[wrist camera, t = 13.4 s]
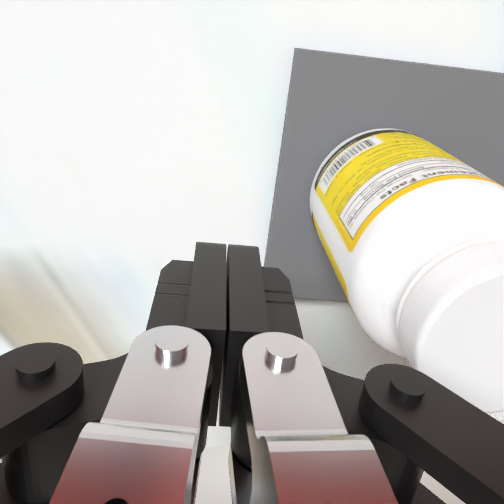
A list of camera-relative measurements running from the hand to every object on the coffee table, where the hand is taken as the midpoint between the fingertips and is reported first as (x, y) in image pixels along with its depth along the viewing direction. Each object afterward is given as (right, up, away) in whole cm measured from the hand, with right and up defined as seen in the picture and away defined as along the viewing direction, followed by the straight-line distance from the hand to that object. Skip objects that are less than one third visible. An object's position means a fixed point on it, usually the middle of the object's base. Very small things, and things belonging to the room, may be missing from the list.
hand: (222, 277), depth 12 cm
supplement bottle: (+6, +3, +7) cm, 10 cm away
